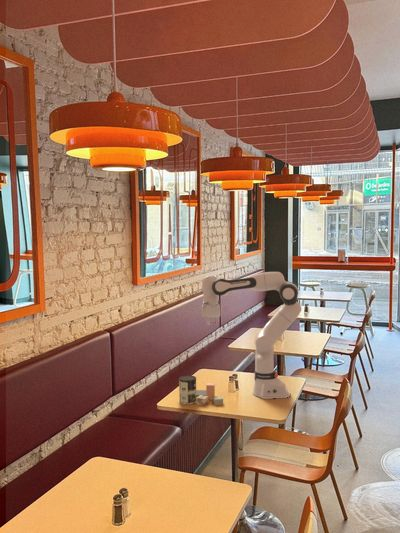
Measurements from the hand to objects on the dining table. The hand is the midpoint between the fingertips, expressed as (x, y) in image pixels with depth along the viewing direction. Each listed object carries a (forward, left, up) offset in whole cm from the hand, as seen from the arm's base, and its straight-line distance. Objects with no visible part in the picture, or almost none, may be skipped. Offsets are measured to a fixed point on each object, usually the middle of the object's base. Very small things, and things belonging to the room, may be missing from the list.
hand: (211, 324), depth 300 cm
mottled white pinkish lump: (+4, +19, -43) cm, 47 cm away
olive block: (-5, +18, -43) cm, 46 cm away
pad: (+6, +3, -43) cm, 43 cm away
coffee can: (+13, +16, -43) cm, 47 cm away
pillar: (0, +11, -43) cm, 44 cm away
